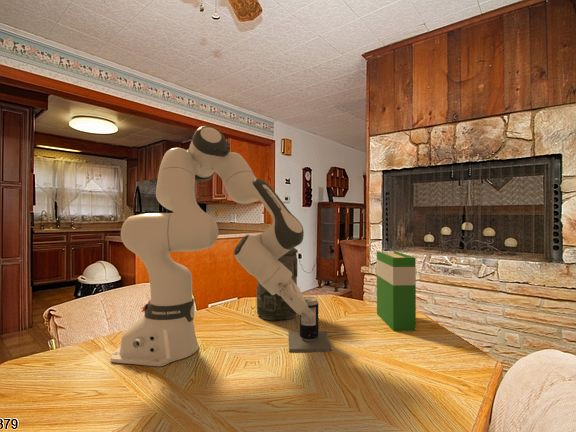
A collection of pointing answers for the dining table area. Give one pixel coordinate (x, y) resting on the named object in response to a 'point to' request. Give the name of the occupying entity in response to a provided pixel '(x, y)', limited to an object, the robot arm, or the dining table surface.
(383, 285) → the hardback book
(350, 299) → the dining table surface
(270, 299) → the canister
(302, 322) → the beverage can
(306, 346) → the mat
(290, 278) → the robot arm
